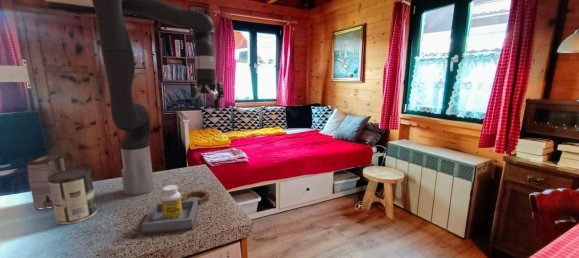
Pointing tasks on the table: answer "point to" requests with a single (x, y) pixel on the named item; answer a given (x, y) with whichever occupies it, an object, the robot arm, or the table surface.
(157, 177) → the table surface
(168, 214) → the supplement bottle
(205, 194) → the holder ring
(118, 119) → the robot arm
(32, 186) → the coffee box
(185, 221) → the tray
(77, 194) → the coffee can
